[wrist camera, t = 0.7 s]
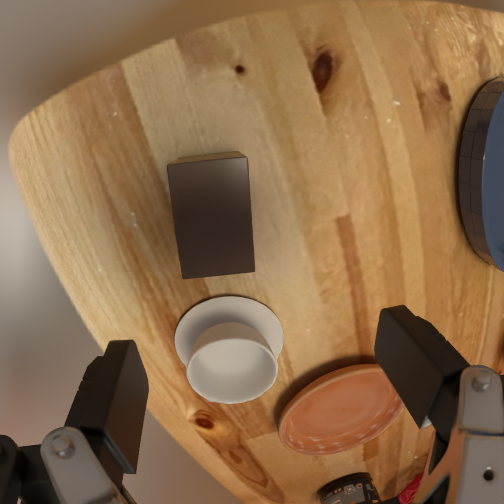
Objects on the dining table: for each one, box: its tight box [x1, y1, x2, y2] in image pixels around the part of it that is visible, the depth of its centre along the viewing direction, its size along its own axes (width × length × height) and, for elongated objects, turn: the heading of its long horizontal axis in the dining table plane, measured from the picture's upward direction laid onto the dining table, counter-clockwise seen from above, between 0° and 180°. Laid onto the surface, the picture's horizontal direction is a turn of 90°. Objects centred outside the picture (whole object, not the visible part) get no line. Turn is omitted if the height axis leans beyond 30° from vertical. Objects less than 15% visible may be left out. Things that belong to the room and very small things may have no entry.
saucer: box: [278, 364, 405, 456], centre depth 32 cm, size 16×16×3 cm
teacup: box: [175, 296, 284, 404], centre depth 26 cm, size 10×10×5 cm
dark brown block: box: [167, 151, 255, 279], centre depth 21 cm, size 7×4×6 cm, turn 4°
